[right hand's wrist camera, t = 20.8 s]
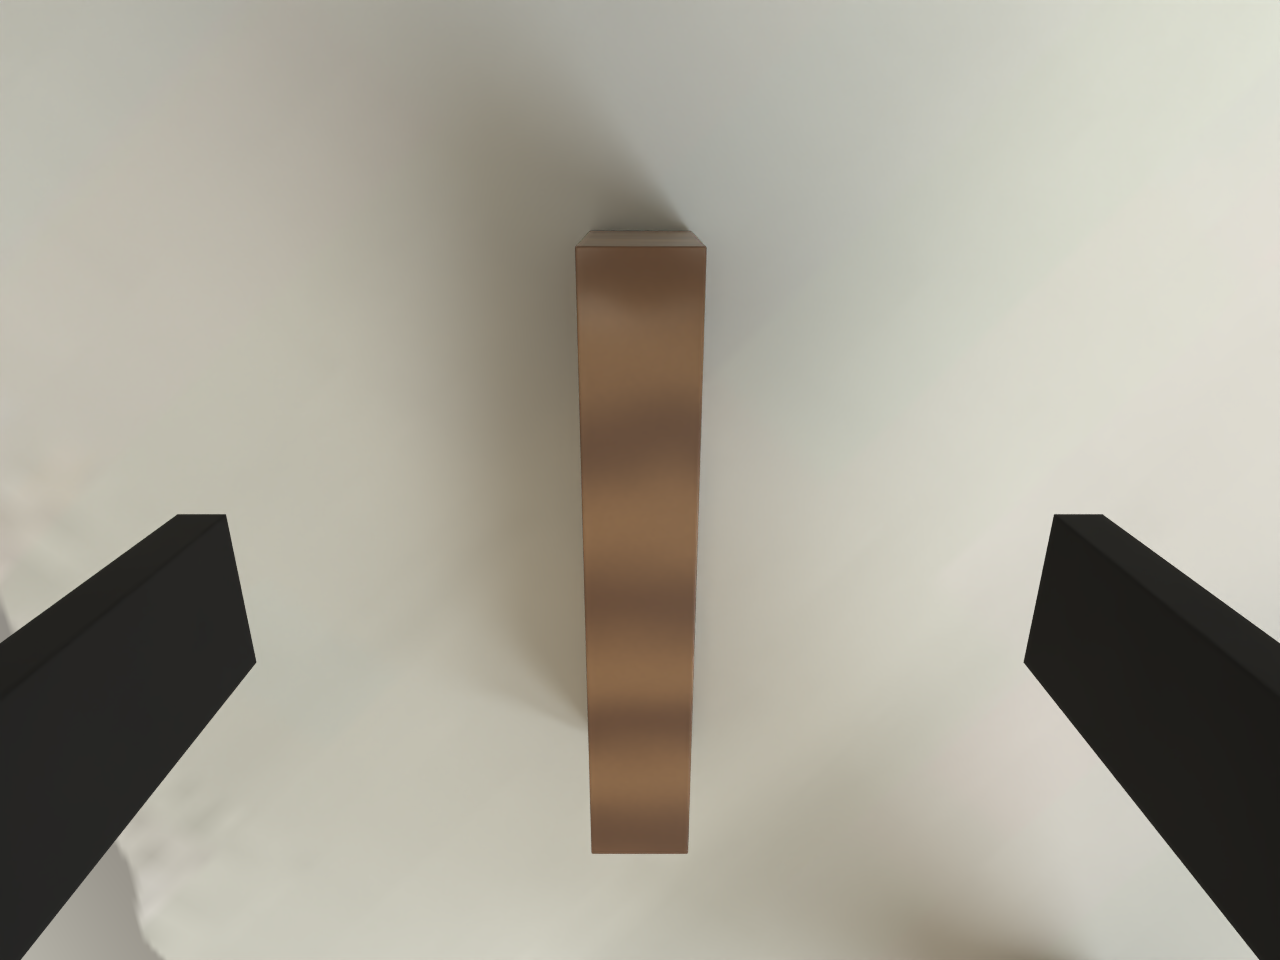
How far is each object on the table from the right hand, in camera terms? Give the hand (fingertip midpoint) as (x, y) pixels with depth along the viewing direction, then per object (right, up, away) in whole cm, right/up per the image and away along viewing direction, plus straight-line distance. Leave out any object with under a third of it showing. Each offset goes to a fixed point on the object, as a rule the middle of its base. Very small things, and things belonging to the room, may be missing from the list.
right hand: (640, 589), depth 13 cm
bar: (0, 0, +26) cm, 26 cm away
